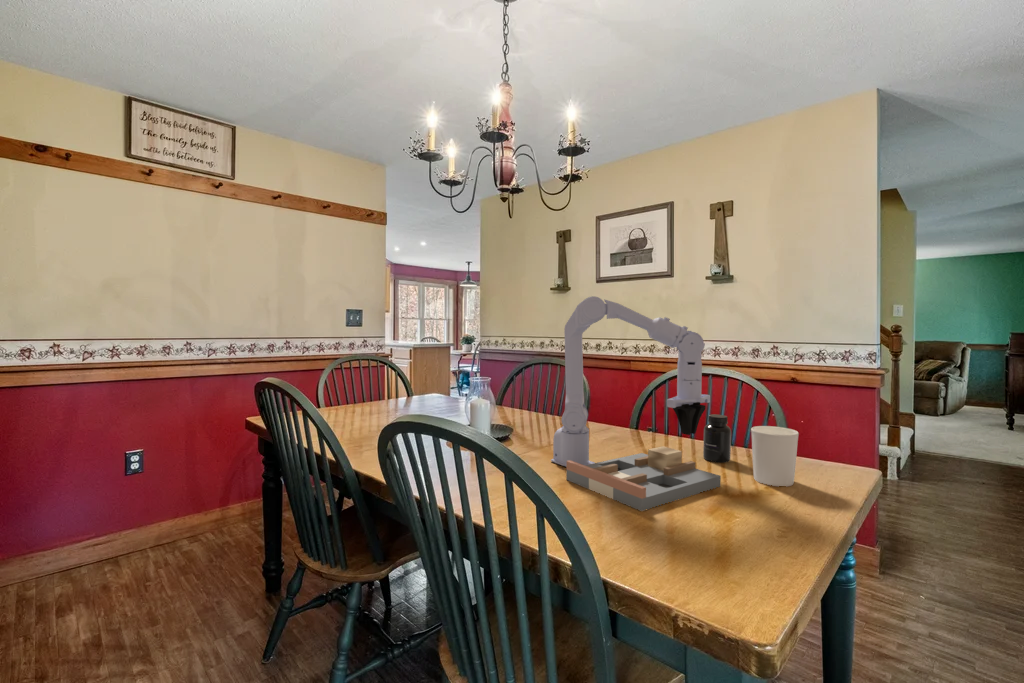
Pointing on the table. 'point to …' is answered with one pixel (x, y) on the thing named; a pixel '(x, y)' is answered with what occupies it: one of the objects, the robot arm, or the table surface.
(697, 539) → the table surface
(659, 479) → the board
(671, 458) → the maple block
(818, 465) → the table surface
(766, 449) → the candle holder
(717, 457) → the supplement bottle
